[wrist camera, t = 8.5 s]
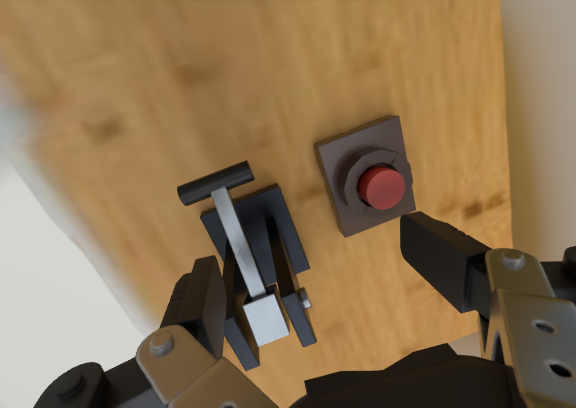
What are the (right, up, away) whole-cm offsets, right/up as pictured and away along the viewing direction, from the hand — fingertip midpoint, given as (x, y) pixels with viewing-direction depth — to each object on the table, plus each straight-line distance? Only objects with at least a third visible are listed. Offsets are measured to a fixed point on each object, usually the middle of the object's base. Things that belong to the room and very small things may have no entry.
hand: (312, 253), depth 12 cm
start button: (+7, +4, +14) cm, 16 cm away
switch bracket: (-4, -2, +17) cm, 18 cm away
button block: (+7, +5, +17) cm, 19 cm away
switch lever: (-4, -1, +8) cm, 9 cm away
